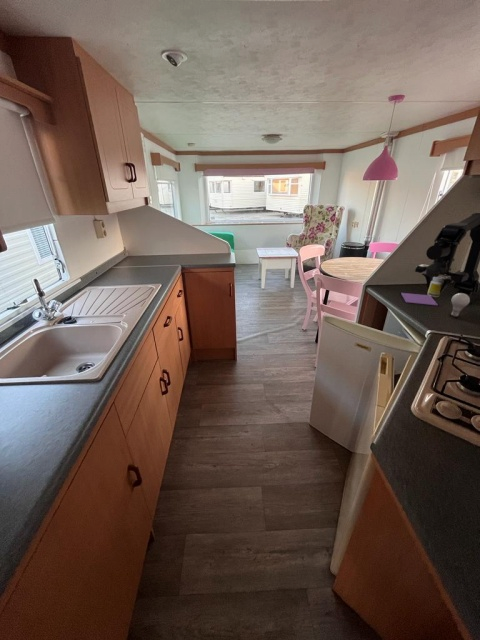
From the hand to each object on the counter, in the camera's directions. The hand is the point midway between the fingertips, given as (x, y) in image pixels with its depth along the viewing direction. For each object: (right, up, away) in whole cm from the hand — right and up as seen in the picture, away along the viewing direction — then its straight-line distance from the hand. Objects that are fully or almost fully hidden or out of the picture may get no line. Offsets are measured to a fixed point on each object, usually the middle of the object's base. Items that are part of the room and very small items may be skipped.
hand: (434, 291), depth 119 cm
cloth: (+7, -2, +21) cm, 22 cm away
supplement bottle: (0, -2, +1) cm, 2 cm away
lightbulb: (+11, -11, +2) cm, 16 cm away
